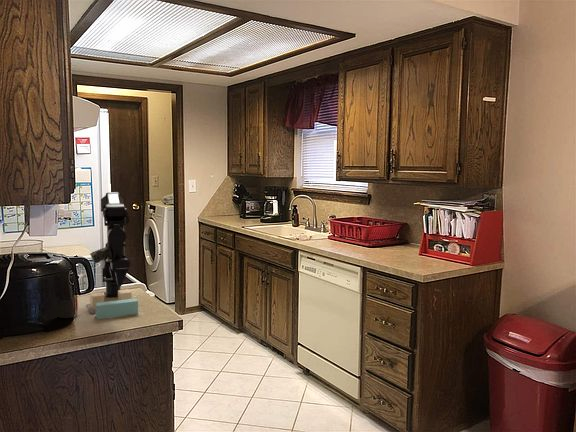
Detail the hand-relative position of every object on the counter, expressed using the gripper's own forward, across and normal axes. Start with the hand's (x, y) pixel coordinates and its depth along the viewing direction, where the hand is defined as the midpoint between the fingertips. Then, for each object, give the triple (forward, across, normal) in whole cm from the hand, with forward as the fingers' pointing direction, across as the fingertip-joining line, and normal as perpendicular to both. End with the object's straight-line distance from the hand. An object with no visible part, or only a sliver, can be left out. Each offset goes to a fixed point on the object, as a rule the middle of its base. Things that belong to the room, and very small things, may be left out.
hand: (116, 283), depth 175 cm
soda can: (+12, -6, -16) cm, 21 cm away
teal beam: (+12, 0, 0) cm, 12 cm away
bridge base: (+12, -11, 0) cm, 16 cm away
